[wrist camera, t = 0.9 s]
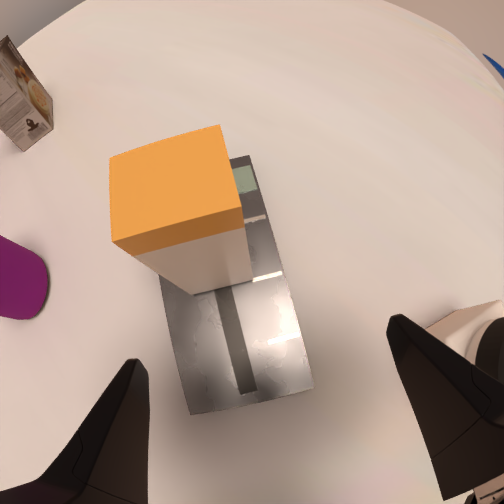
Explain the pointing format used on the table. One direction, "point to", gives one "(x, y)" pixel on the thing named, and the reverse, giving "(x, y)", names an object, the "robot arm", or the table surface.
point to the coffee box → (22, 99)
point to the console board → (239, 323)
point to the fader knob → (181, 211)
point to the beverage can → (20, 281)
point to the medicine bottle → (476, 336)
